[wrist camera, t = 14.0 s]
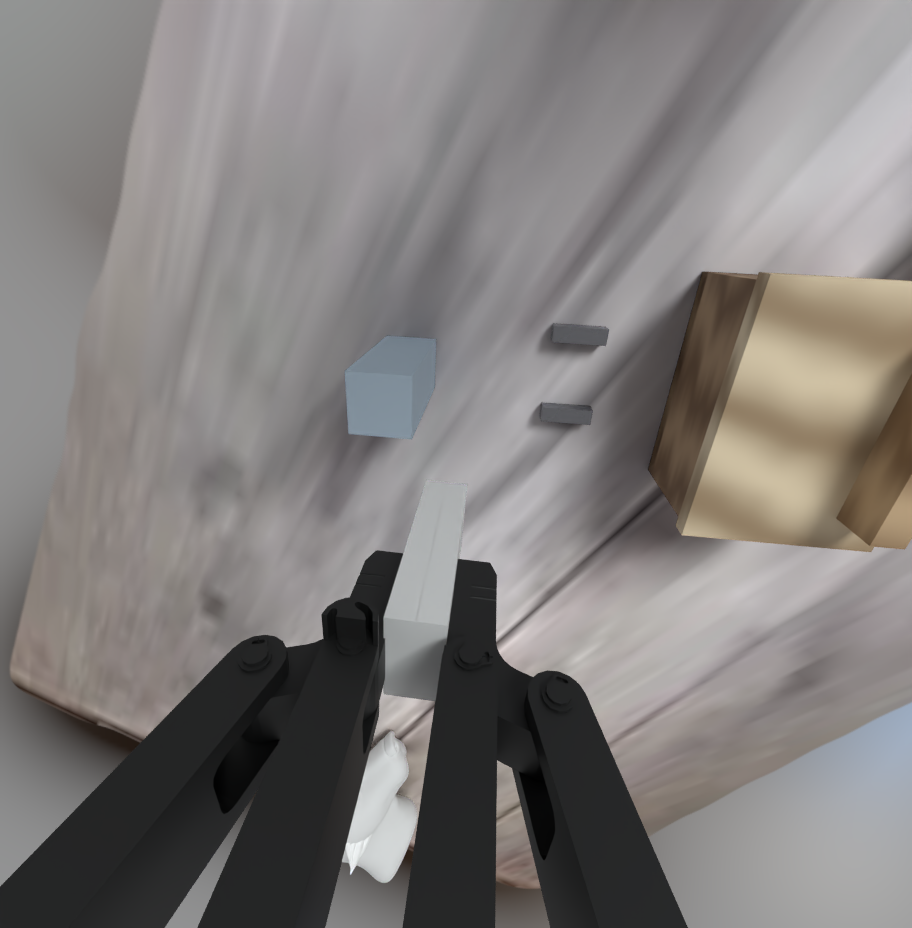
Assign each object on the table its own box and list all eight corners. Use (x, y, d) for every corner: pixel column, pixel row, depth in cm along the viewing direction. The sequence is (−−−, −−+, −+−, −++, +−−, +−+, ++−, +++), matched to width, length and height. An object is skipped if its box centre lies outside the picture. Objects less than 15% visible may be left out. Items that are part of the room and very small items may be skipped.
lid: (758, 272, 24) (805, 277, 21) (1003, 285, 24) (1098, 294, 20) (675, 525, 32) (698, 563, 28) (858, 541, 31) (907, 582, 27)
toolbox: (702, 271, 32) (761, 280, 25) (878, 281, 31) (991, 293, 24) (647, 469, 39) (681, 520, 32) (789, 481, 38) (856, 536, 31)
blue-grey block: (387, 335, 36) (344, 370, 26) (436, 339, 35) (412, 376, 26) (387, 383, 37) (348, 433, 28) (434, 387, 37) (411, 439, 27)
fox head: (467, 814, 53) (324, 752, 48) (387, 917, 54) (237, 867, 49) (447, 728, 66) (333, 670, 61) (383, 812, 67) (264, 763, 62)
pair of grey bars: (553, 323, 34) (554, 326, 33) (605, 326, 34) (609, 329, 33) (539, 416, 38) (541, 421, 36) (587, 419, 37) (590, 424, 36)
